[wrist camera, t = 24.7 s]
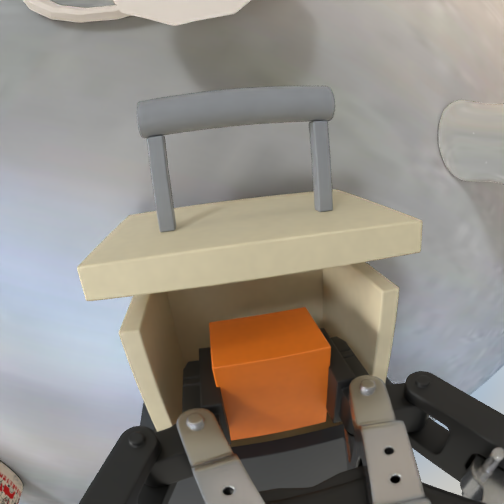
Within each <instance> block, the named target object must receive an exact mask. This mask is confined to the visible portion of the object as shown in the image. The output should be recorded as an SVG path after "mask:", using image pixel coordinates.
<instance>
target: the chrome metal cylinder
mask: <svg viewBox="0 0 504 504" xmlns="http://www.w3.org/2000/svg"><path fill="white" fill-rule="evenodd" d="M438 142H439V149H440V153H441V156H442V159H443V161H444V163H445V165H446V167H447V169H448V170H449V171H450V173H451V174H452V175H453V176H455V177H456V178H458V179H459V180H462V181H465V182H485V181H487V182H496V183H500V184H503V185H504V103H500V104H485V103H479V102H474V101H469V100H456V101H454V102H452V103H450V104H449V105H448V106H447V107H446V108H445V110H444V111H443V113H442V116H441V118H440V122H439V128H438Z"/></svg>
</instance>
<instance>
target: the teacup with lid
mask: <svg viewBox="0 0 504 504" xmlns="http://www.w3.org/2000/svg"><path fill="white" fill-rule="evenodd" d="M22 490H23V484H22V482H21V480H20V479H19V477H18V476H17V475H16V474H15V473H14V472H13V471H12V470H11V469H9V468H8V467H7V466H6V465H4V464H3V463H2V462H0V504H18V503H19V499H20V496H21V493H22Z"/></svg>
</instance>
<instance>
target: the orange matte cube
mask: <svg viewBox="0 0 504 504" xmlns="http://www.w3.org/2000/svg"><path fill="white" fill-rule="evenodd" d="M209 333H210V347H211V360H212V370H213V374H214V379H215V384H216V387H220V389H221V394H222V399H223V403H224V407H225V412H226V416H227V421H228V425H229V430H230V437H231V440H238V439H245V438H251V437H257V436H263V435H268V434H274V433H279V432H284V431H288V430H293V429H298V428H302V427H306V426H311V425H315V424H319V423H323V422H326V417H327V409H326V402H327V388H328V371H329V366H330V357H331V346H330V345H329V343H328V341H327V340H326V338H325V337H324V335H323V334H322V332H321V330H320V329H319V327H318V326H317V324H316V323H315V321H314V319H313V318H312V316H311V315H310V313H309V312H308V310H307V309H306V307H303V308H297V309H291V310H286V311H280V312H274V313H268V314H262V315H256V316H249V317H243V318H236V319H229V320H222V321H215V322H210V323H209Z"/></svg>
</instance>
